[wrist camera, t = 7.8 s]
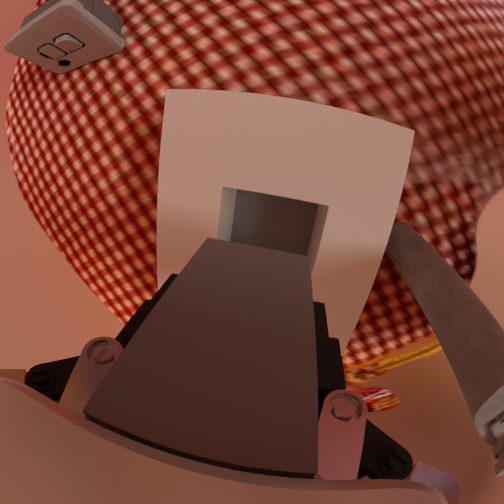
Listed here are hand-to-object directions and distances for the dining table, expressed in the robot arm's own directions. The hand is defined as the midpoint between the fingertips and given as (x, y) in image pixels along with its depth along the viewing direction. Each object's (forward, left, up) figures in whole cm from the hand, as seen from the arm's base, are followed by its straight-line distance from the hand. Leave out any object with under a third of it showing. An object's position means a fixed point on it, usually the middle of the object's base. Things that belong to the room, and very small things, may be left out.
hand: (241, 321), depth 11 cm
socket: (0, 0, -14) cm, 14 cm away
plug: (0, 0, -3) cm, 3 cm away
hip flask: (-17, +3, -14) cm, 22 cm away
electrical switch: (+20, -16, -14) cm, 29 cm away
